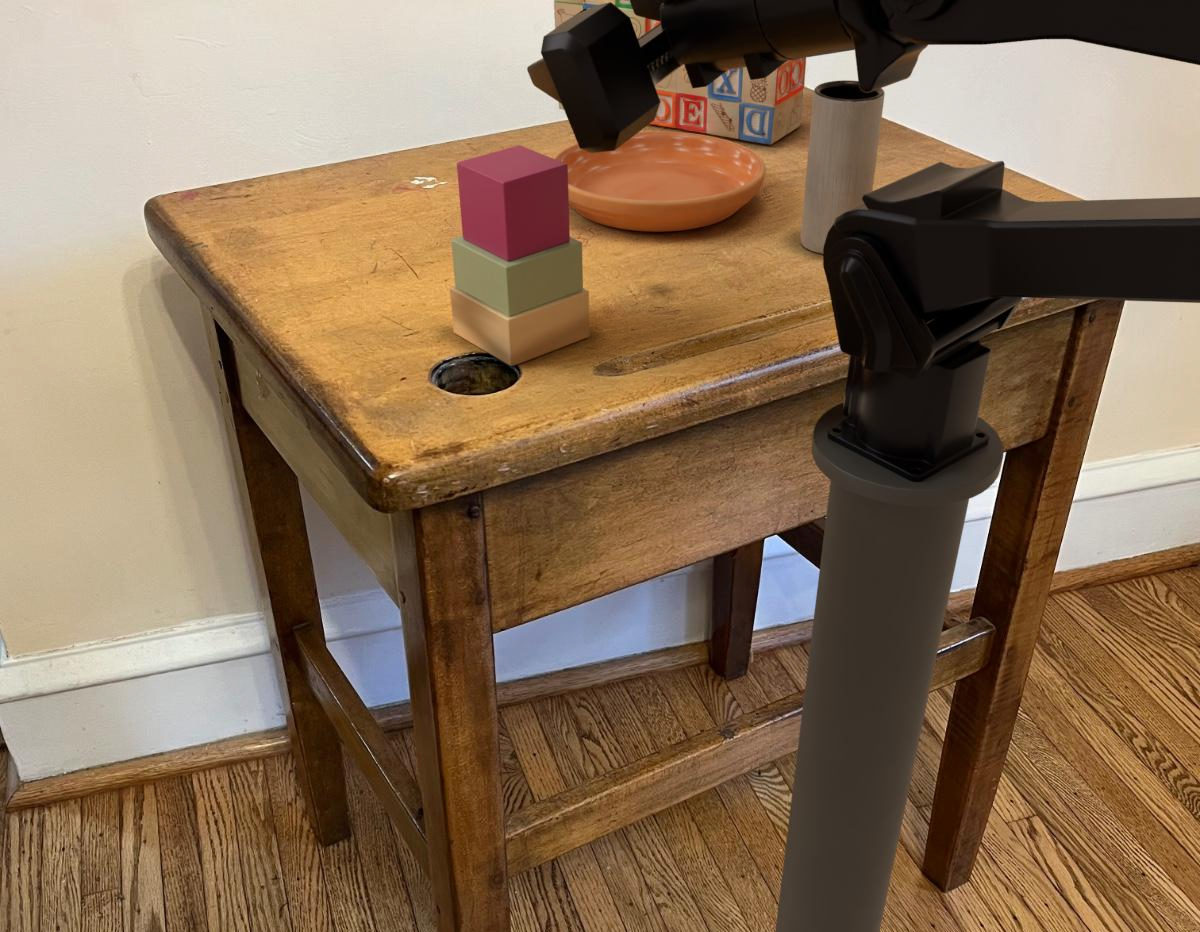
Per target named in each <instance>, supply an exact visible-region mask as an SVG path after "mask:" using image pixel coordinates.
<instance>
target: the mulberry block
mask: <svg viewBox="0 0 1200 932" xmlns="http://www.w3.org/2000/svg"><path fill="white" fill-rule="evenodd" d="M553 158H554V157H553ZM553 158H552V157H550V156H548V155H545V154H543V153H540V152H538V151H535V150H533V149H531V148H529V147H525V146H523V145H521V144H519V145H515V146H511V147H508V148H504V149H501V150H497V151H493V152H489V153H485V154H482V155H478V156H475V157H471V158H467V159H464V160H460V161H457V162H456V172H457V173H456V174H457V183H458V195H459V196H458V197H459V207H460V219H461V220H460V221H461V230H462V231H461V232H462V236H463V239H464V240H466V241H468V242H470V243H472V244H474V245H476V246H478V247H480V248H482V249H484V250H486V251H488V252H490V253H492V254H494V255H496V256H498V257H500V258H502V259H504V260H506V261H508V262H509V261H512V260H515V259H518V258H521V257H524V256H527V255H530V254H533V253H536V252H539V251H542V250H545V249H548V248H551V247H554V246H557V245H560V244H563V243H566V242H569V241H570V237H571V236H570V233H571V232H570V204H569V194H568V165H567V164H565V163H563V162H560V161H558V160H555V159H553Z"/></svg>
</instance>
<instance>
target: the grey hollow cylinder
mask: <svg viewBox="0 0 1200 932" xmlns="http://www.w3.org/2000/svg"><path fill="white" fill-rule="evenodd" d="M884 103H885V90H884V89H883V87H882V88H880V89H877V90H874V91H871V92H869V93H864V92H862V91H861V90H860V88H859V82H858V80H850V79H849V80H848V79H847V80H845V79H844V80H831V81H827V82H823V83H820V84H818V85H816V86H815V88H814V90H813V95H812V106H811V117H810V118H811V119H810V129H809V139H808V140H809V141H808V151H807V162H806V173H805V182H804V193H803V205H802V206H803V207H802V216H801V227H800V228H801V229H800V243H801V245H802V246H803V247H804V248H805V249H807V250H809V251H811V252H813V253H818V254H821V255H823V247H824V244H825V240H826V237H827V233H828V231H829V230H830V228H831V227H832V225H833V224H834V221H835V219H836V218H837V217H839V216H840V215H842V214H843V213H845V212H847V211H850V210H852V209H854V208H856V207H859V206H861V205H863V204H865V203H864V202H863V200H862V197H863V196H864V195H865V194H867V193H870V192H872V191H874V190H873V189H874V182H875V175H876V174H875V173H876V166H877V160H878V159H877V158H878V150H879V144H880V143H879V142H880V134H881V125H882V118H883V110H884Z"/></svg>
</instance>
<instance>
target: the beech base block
mask: <svg viewBox="0 0 1200 932" xmlns="http://www.w3.org/2000/svg"><path fill="white" fill-rule="evenodd" d="M449 295H450V296H449V297H450V304H451V306H450V307H451V317H452V329H453V333H454V335H457V336H459V337H460V338H462V339H464V340H466V341H467V342H468V343H470V344H472V345H474V346H476V347H478V348H479V349H480V350H483V351H484V352H486V353H488V354H489V355H491V356H493V357H494V358H496V359H498V360H499V361H501V362H502V363H505V364H506V365H508V366H509V367H515V366H518V365H520V364H522V363H525V362H528V361H530V360H533V359H535V358H538V357H540V356H543V355H546V354H548V353H550V352H553V351H557V350H559V349H561V348H564V347H567V346H568V345H572V344H574V343H576V342H579V341H582V340H584V339H587V338H589V337H590V335H591V333H590V332H591V331H590V330H591V329H590V291H589V290H587V289H585V288H583V290H582V291H579V292H577V293H574V294H571V295H568V296H566V297H563V298H560V299H557V300H554V301H552V302H549V303H546V304H543V305H541V306H538V307H535V308H532V309H529V310H527V311H524V312H521V313H518V314H516V315H513V316H507V315H506V314H504V313H502V312H500V311H498V310H496V309H495V308H493V307H491V306H489V305H487V304H486V303H484V302H482V301H480V300H478V299H477V298H475V297H473V296H471V295H469V294H467V293H466V292H464V291H462V290H460V289H458V288H457V287H456V286H455V285H453V286H450V287H449Z"/></svg>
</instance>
